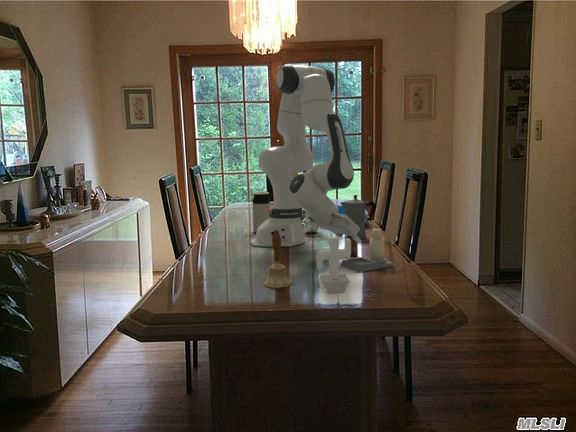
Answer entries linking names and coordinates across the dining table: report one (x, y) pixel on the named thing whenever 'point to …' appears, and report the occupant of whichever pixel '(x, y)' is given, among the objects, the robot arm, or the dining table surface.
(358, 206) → the coffeepot
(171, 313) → the dining table surface
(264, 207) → the travel mug
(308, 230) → the plastic bottle
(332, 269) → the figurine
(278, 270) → the hand bell
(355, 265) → the cruet stand
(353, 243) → the pepper mill
